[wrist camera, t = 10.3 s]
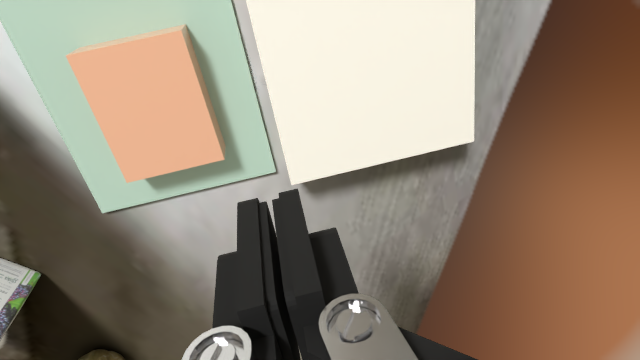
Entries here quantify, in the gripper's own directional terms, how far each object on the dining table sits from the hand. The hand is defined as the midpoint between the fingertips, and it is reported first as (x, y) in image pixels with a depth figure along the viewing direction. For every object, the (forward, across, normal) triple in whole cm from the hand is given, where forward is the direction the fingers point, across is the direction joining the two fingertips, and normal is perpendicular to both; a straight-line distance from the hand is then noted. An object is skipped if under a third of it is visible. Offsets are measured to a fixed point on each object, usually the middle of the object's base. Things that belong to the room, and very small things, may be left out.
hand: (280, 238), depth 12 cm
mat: (+21, +8, +1) cm, 22 cm away
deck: (+21, -7, +1) cm, 22 cm away
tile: (+18, +7, +1) cm, 20 cm away
